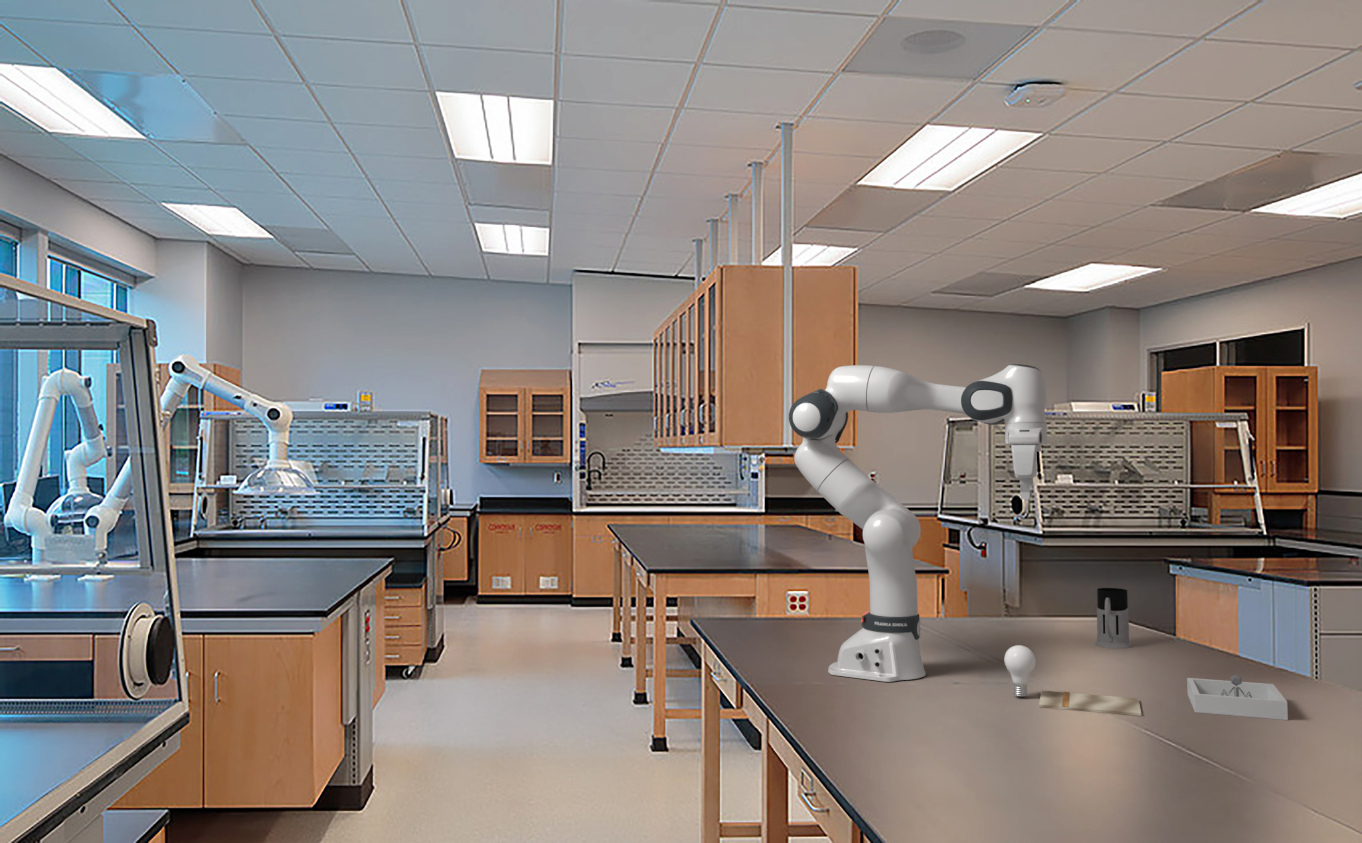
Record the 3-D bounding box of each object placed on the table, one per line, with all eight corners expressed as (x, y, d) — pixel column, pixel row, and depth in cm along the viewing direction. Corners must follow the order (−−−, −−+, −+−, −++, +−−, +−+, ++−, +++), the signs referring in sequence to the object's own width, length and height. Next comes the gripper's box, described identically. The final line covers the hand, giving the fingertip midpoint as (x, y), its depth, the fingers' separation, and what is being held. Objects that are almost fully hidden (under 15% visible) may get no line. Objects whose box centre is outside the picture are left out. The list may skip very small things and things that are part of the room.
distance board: (1038, 706, 201) (1038, 703, 202) (1041, 692, 213) (1041, 689, 214) (1141, 715, 194) (1141, 712, 194) (1138, 700, 206) (1138, 697, 206)
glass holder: (1133, 644, 268) (1132, 588, 268) (1125, 653, 256) (1123, 595, 256) (1098, 641, 272) (1097, 586, 273) (1089, 649, 260) (1088, 592, 261)
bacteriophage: (1217, 710, 199) (1217, 676, 200) (1217, 701, 206) (1216, 669, 207) (1257, 714, 196) (1256, 680, 196) (1255, 705, 203) (1254, 672, 203)
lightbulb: (1038, 701, 206) (1037, 648, 206) (1006, 700, 207) (1005, 647, 207) (1034, 694, 212) (1033, 643, 212) (1003, 693, 213) (1002, 642, 214)
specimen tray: (1194, 712, 197) (1194, 694, 197) (1187, 694, 212) (1187, 677, 212) (1287, 719, 191) (1287, 701, 191) (1273, 700, 206) (1273, 683, 206)
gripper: (1013, 437, 231) (1014, 496, 231) (1007, 435, 212) (1008, 500, 212) (1042, 437, 229) (1043, 496, 228) (1039, 435, 210) (1039, 500, 209)
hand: (1026, 498), depth 220 cm, fingers open, 8 cm apart
